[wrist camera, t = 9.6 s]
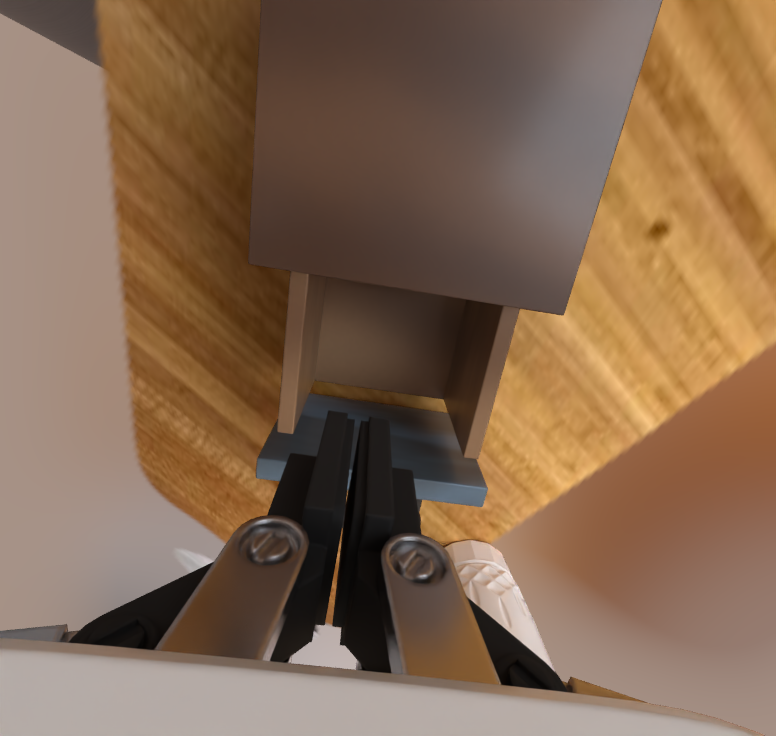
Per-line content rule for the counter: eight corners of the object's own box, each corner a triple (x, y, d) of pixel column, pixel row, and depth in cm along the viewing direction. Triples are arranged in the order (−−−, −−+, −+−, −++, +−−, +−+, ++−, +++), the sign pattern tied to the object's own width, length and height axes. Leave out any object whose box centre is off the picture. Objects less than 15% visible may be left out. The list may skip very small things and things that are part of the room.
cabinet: (497, 279, 27) (563, 316, 17) (297, 246, 26) (247, 264, 16) (568, -4, 22) (720, -181, 12) (324, -58, 21) (274, -296, 11)
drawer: (441, 487, 31) (461, 580, 23) (284, 466, 30) (250, 555, 22) (505, 228, 25) (563, 233, 17) (309, 193, 24) (274, 182, 16)
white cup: (428, 612, 36) (445, 749, 27) (411, 542, 34) (423, 668, 24) (518, 596, 36) (566, 730, 27) (507, 525, 33) (557, 646, 24)
